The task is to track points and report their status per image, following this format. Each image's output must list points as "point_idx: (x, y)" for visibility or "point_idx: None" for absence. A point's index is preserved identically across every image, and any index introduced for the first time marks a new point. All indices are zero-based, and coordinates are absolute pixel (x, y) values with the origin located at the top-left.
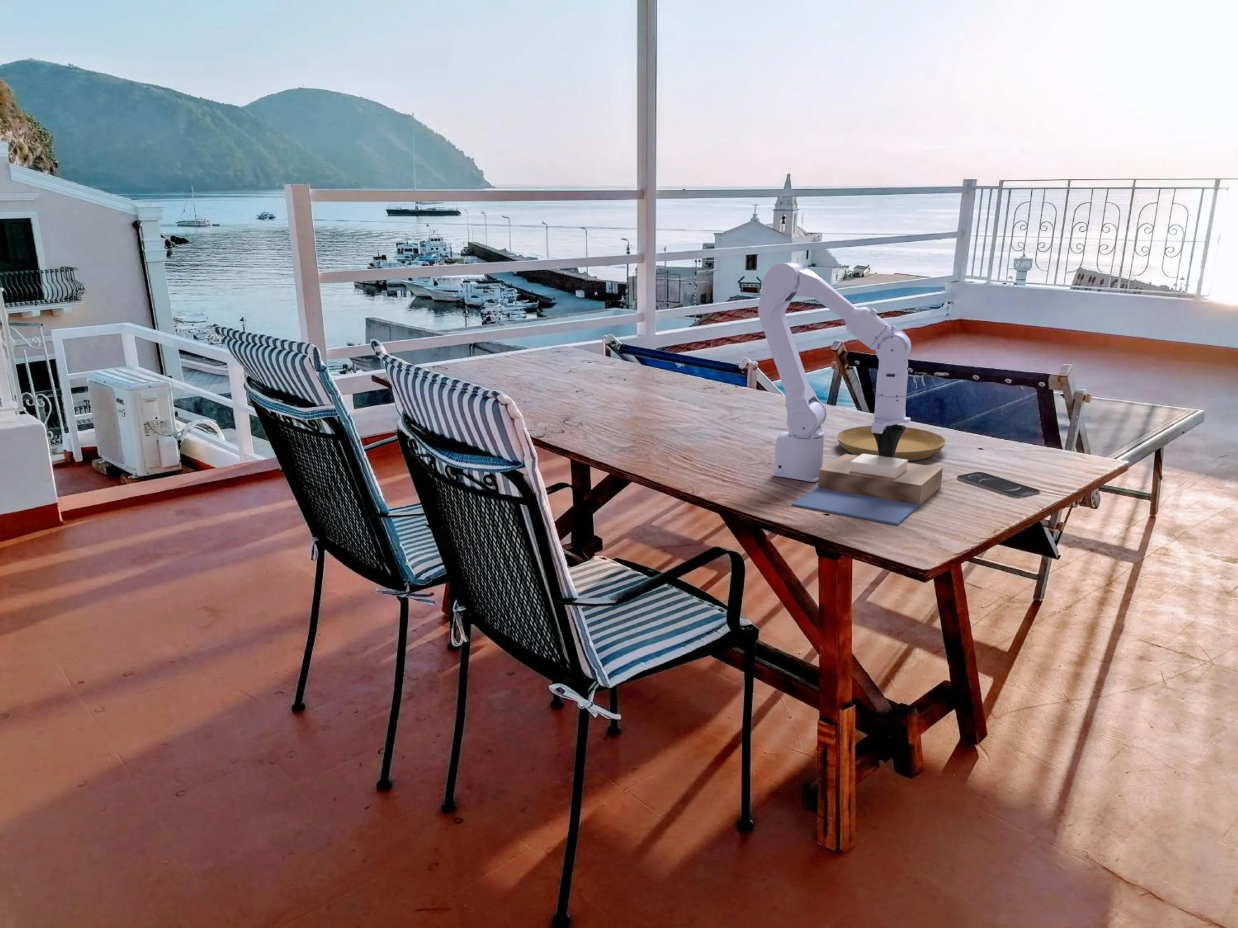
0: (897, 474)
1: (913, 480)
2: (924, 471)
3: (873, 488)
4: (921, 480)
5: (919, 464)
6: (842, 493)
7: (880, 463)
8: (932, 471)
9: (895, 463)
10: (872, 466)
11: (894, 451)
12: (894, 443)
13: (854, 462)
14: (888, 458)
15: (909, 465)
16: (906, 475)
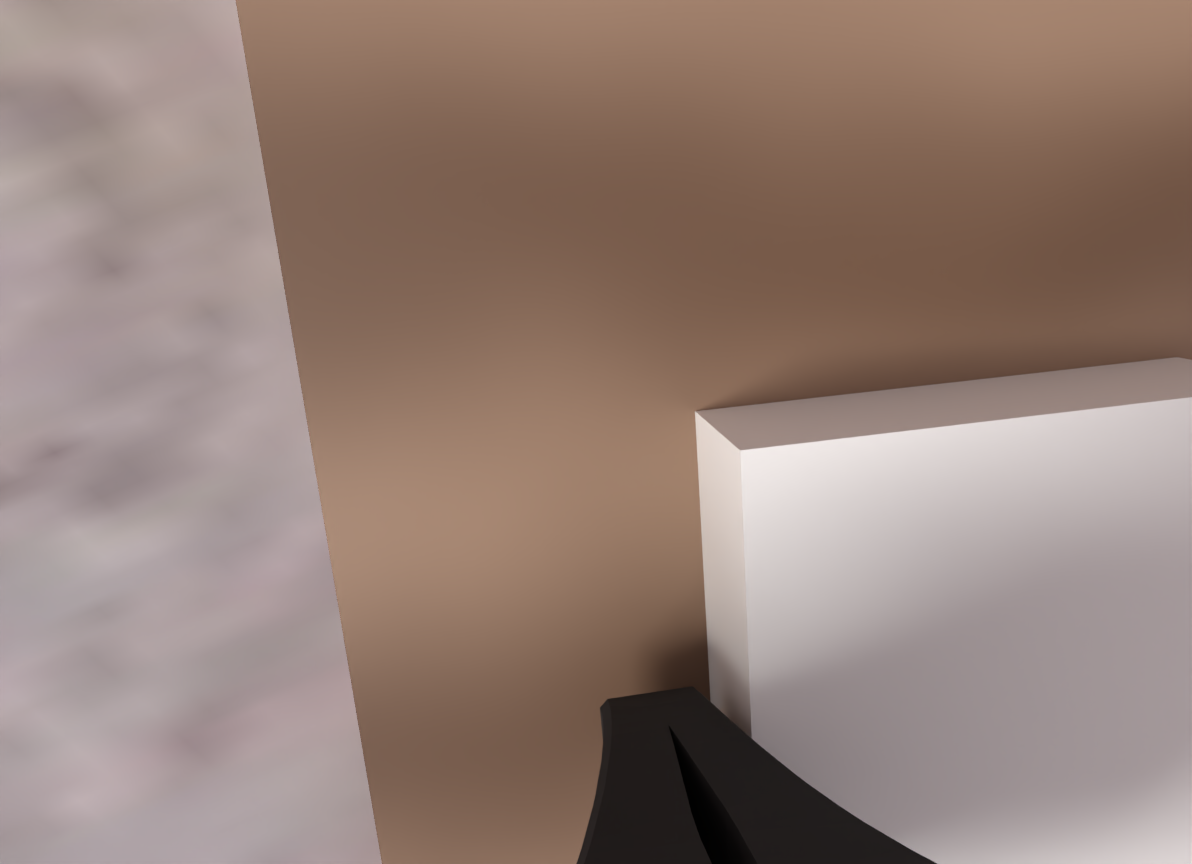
0: (1137, 370)
1: (1182, 112)
2: (649, 156)
3: None
4: (1127, 14)
5: (302, 378)
6: None
7: (1168, 671)
8: (574, 45)
9: (1062, 508)
10: None
11: (666, 768)
12: (904, 855)
13: None
14: (835, 715)
15: (464, 473)
16: (992, 292)
